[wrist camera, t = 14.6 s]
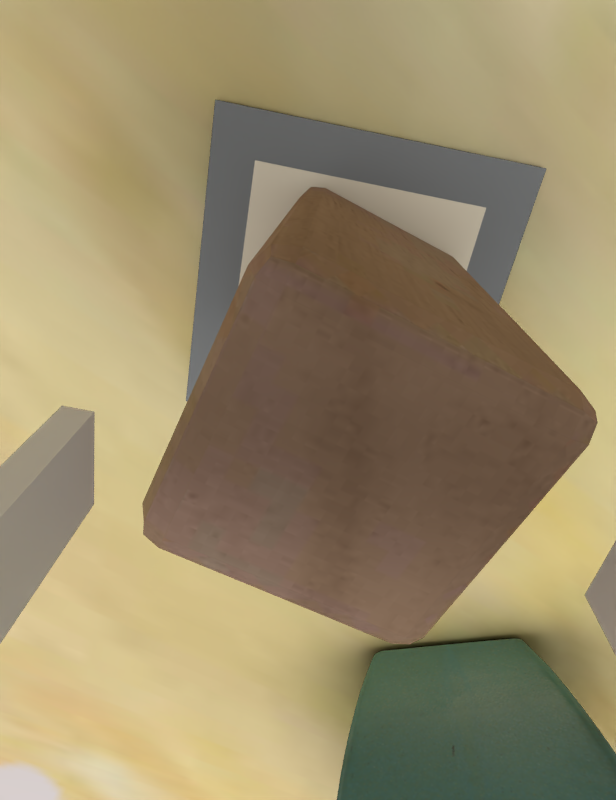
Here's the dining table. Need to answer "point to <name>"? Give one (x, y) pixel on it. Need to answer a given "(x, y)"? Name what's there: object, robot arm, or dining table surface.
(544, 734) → the flower pot
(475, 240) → the mat
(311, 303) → the wooden block
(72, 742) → the dining table surface
